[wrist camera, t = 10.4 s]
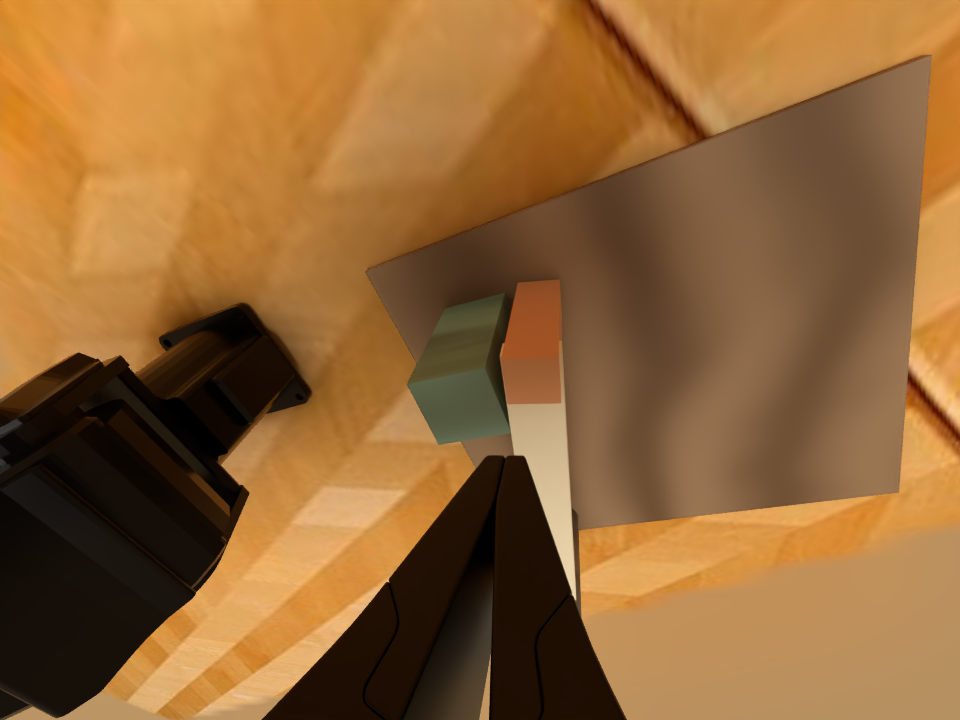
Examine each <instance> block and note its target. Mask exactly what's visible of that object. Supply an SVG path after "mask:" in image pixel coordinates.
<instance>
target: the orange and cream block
mask: <svg viewBox="0 0 960 720" xmlns="http://www.w3.org/2000/svg"><path fill="white" fill-rule="evenodd" d="M500 361H501V368H502V375H503V382H504V389H505V395H506V402H507V409H508V416H509V423H510V429H511V436H512V443H513V450H514V455H523V456H525V458H526V460H527V463H528V466H529V469H530V472H531V474H532V477H533V480H534V483H535V486H536V489H537V492H538V495H539V498H540V501H541V503H542V506H543V509H544V512H545V515H546V518H547V521H548V524H549V527H550V530H551V532H552V535H553V538H554V541H555V544H556V547H557V550H558V553H559V556H560V558H561V561H562V564H563V567H564V570H565V573H566V576H567V579H568V582H569V585H570V587H571V590H572V595H573V596H574V598H575V600H576V578H575V561H574V543H573V526H572V508H571V491H570V473H569V456H568V438H567V421H566V403H565V386H564V368H563V351H562V310H561V292H560V279H557V280H544V281H531V282H518V284H517V288H516V293H515V298H514V302H513V307H512V311H511V316H510V321H509V325H508V330H507V334H506V339H505V343H503V344H502V348H501V352H500Z"/></svg>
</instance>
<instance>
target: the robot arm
mask: <svg viewBox="0 0 960 720" xmlns="http://www.w3.org/2000/svg"><path fill="white" fill-rule="evenodd" d="M239 312H240V313H241V314H242V315H243V316H242V315H240V314H239ZM159 342H160V344H161V345H162V347H163V348H164V349H165V350H166V352H165V353H163V354H162V355H161V356H159V357H158V358H156V359H155V360H154V361H152V362H151V363H149V364H148V365H146V366H145V367H144V368H142V369H141V370H139V371H138V372H136V373H135V374H134V373H133V372H132V370H131V369H130V368H129V367H128V366H130V365H129V364H128V363H127V362H126V361H125V360H124V358H123V357H122V356H121V355H119V356H116V357H114V358H111V359H109V360H106V361H104V362H101V361H100V360H99V359H94V358H91V357H89V356H86V355H84V354H81V353H76V354H74V355H71V356H69V357H68V358H66V359H64V360H62V361H61V362H59V363H57V364H55V365H54V366H52V367H50V368H48V369H47V370H45V371H43V372H42V373H40V374H38V375H36V376H35V377H33V378H31V379H30V380H28V381H27V382H25V383H23V384H22V385H20V386H19V387H17V388H16V389H14V390H13V391H12V392H10V393H9V394H7V395H6V396H4V397H3V398H1V399H0V720H5V719H7V718H9V717H11V716H13V715H16V714H18V713H20V712H22V711H24V710H26V709H28V708H30V707H35V708H37V709H39V710H41V711H43V712H45V713H46V714H49V715H50V716H52V717H54V718H59V717H62V716H64V715H66V714H68V713H70V712H71V711H73V710H74V709H76V708H77V707H79V706H80V705H82V704H83V703H85V702H87V701H88V700H90V699H91V698H93V697H94V696H96V695H97V694H98V693H100V692H101V691H102V690H103V689H104V688H105V686H106V685H107V684H108V683H109V682H110V681H111V679H112V678H113V677H114V676H115V675H116V673H117V672H118V671H119V670H120V669H121V667H122V666H123V665H124V664H125V663H126V662H127V660H128V659H129V658H130V657H131V656H132V654H133V653H134V652H135V651H136V650H137V649H138V648H139V647H140V646H141V644H142V643H143V642H144V641H145V640H146V639H147V638H148V637H149V636H150V635H151V634H152V633H153V632H154V631H155V630H156V629H157V628H158V627H159V626H160V625H161V624H162V623H163V622H164V621H165V620H166V619H168V618H169V617H170V616H171V615H172V614H174V613H175V612H176V611H177V610H179V609H180V608H181V607H182V606H184V605H185V604H186V603H187V602H189V601H190V600H191V599H192V598H193V597H194V596H195V594H196V592H197V591H198V590H199V589H200V588H201V587H202V586H203V584H204V583H205V582H206V581H207V580H208V579H209V577H210V576H211V575H212V573H213V572H214V570H215V569H216V567H217V565H218V564H219V562H220V560H221V558H222V555H223V553H224V551H225V549H226V546H227V544H228V542H229V539H230V537H231V535H232V532H233V530H234V528H235V526H236V523H237V521H238V519H239V516H240V514H241V512H242V509H243V507H244V505H245V503H246V500H247V498H248V496H249V492H248V491H247V489H246V488H245V487H244V486H243V485H239V484H238V483H237V482H236V481H235V480H234V479H233V478H232V476H231V475H230V474H229V473H228V472H227V471H226V470H225V469H224V468H223V467H222V466H221V464H222V463H223V462H224V461H225V460H226V459H227V457H228V456H229V455H230V454H231V453H232V452H233V450H234V449H235V448H236V447H237V446H238V445H239V444H240V442H241V441H242V440H243V439H244V438H245V437H246V436H247V434H248V433H249V432H250V431H251V430H252V429H253V428H254V426H255V425H256V424H257V423H258V422H259V421H260V420H261V418H262V417H263V416H264V415H265V414H268V413H271V412H275V411H279V410H282V409H286V408H290V407H293V406H297V405H300V404H304V403H306V402H307V401H308V400H309V398H310V397H311V393H310V391H309V390H308V388H307V387H306V385H305V384H304V383H303V381H302V380H301V379H300V377H299V376H298V375H297V373H296V372H295V370H294V369H293V368H292V366H291V365H290V364H289V362H288V361H287V359H286V358H285V357H284V355H283V354H282V353H281V351H280V350H279V348H278V347H277V346H276V344H275V343H274V342H273V340H272V339H271V338H270V336H269V335H268V333H267V332H266V331H265V329H264V328H263V327H262V325H261V324H260V322H259V321H258V320H257V318H256V317H255V316H254V314H253V313H252V311H251V310H250V309H249V308H248V307H247V306H245V305H243V304H236V305H234V306H231V307H229V308H226V309H224V310H221V311H219V312H216V313H214V314H211V315H209V316H206V317H204V318H201V319H199V320H196V321H194V322H191V323H189V324H186V325H184V326H181V327H179V328H176V329H174V330H171V331H169V332H166V333H165V334H163V335H162V336H160V337H159ZM300 394H301V395H300ZM490 654H491V672H490V706H489V720H627V719H626V717H625V715H624V713H623V711H622V709H621V707H620V705H619V703H618V701H617V699H616V697H615V695H614V693H613V691H612V689H611V687H610V684H609V683H608V680H607V678H606V676H605V674H604V671H603V669H602V667H601V665H600V663H599V661H598V658H597V656H596V654H595V652H594V650H593V647H592V645H591V642H590V640H589V637H588V634H587V632H586V629H585V626H584V624H583V621H582V619H581V616H580V613H579V610H578V607H577V604H576V601H575V598H574V596H573V595H572V590H571V587H570V585H569V582H568V579H567V576H566V573H565V570H564V567H563V564H562V561H561V558H560V556H559V553H558V550H557V547H556V544H555V541H554V538H553V535H552V532H551V530H550V527H549V524H548V521H547V518H546V515H545V512H544V509H543V506H542V503H541V501H540V498H539V495H538V492H537V489H536V486H535V483H534V480H533V477H532V474H531V472H530V469H529V466H528V463H527V460H526V458H525V456H523V455H508V456H507V457H505V456H503V455H488V456H486V457H485V458H484V459H483V460H482V462H481V463H480V464H479V465H478V467H477V468H476V469H475V471H474V472H473V473H472V474H471V476H470V477H469V478H468V479H467V481H466V482H465V483H464V484H463V486H462V487H461V488H460V490H459V491H458V492H457V493H456V495H455V496H454V497H453V498H452V500H451V501H450V502H449V503H448V505H447V506H446V507H445V509H444V510H443V511H442V512H441V514H440V515H439V516H438V517H437V519H436V520H435V521H434V522H433V524H432V525H431V526H430V528H429V529H428V530H427V531H426V533H425V534H424V535H423V536H422V538H421V539H420V540H419V542H418V543H417V544H416V545H415V547H414V548H413V549H412V550H411V552H410V553H409V554H408V555H407V557H406V558H405V559H404V561H403V562H402V563H401V564H400V566H399V567H398V568H397V569H396V571H395V572H394V573H393V574H392V576H391V577H390V578H389V582H386V583H385V584H384V586H383V587H382V588H381V589H380V591H379V592H378V593H377V594H376V596H375V597H374V598H373V599H372V601H371V602H370V603H369V604H368V606H367V607H366V608H365V609H364V610H363V612H362V613H361V614H360V615H359V616H358V618H357V619H356V620H355V621H354V622H353V623H352V625H351V626H350V627H349V628H348V629H347V630H346V631H345V632H344V633H343V634H342V636H341V637H340V638H339V639H338V640H337V641H336V642H335V643H334V644H333V645H332V646H331V648H330V649H329V650H328V651H327V652H326V653H325V654H324V655H323V656H322V657H321V658H320V659H319V660H318V661H317V662H316V663H315V664H314V666H313V667H312V668H311V669H310V670H309V671H308V672H307V673H306V674H305V675H304V676H303V677H302V678H301V679H300V680H299V681H298V682H297V683H296V684H295V685H294V687H293V688H292V689H291V690H290V691H289V692H288V693H287V694H286V695H285V696H284V697H283V698H282V699H281V700H280V701H279V702H278V703H277V704H276V705H275V707H274V708H273V709H272V710H271V711H270V712H269V713H268V714H267V715H266V716H265V717H264V718H263V719H262V720H479V717H480V710H481V706H482V700H483V693H484V688H485V683H486V677H487V671H488V666H489V660H490Z"/></svg>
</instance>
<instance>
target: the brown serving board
mask: <svg viewBox="0 0 960 720" xmlns="http://www.w3.org/2000/svg"><path fill="white" fill-rule="evenodd" d="M931 58H932V55H923V56H920V57H917V58H915V59H912V60H910V61H907V62H904V63H902V64H899V65H897V66H894V67H891V68H889V69H886V70H884V71H881V72H878V73H876V74H873V75H871V76H868V77H865V78H863V79H860V80H858V81H855V82H852V83H850V84H847V85H845V86H842V87H839V88H837V89H834V90H832V91H829V92H826V93H824V94H821V95H819V96H816V97H813V98H811V99H808V100H806V101H803V102H800V103H798V104H795V105H792V106H790V107H787V108H785V109H782V110H779V111H777V112H774V113H772V114H769V115H766V116H764V117H761V118H759V119H756V120H753V121H751V122H748V123H746V124H743V125H740V126H738V127H735V128H733V129H730V130H727V131H725V132H722V133H720V134H717V135H714V136H712V137H709V138H707V139H704V140H701V141H699V142H696V143H694V144H691V145H688V146H686V147H683V148H681V149H678V150H675V151H673V152H670V153H668V154H665V155H662V156H660V157H657V158H655V159H652V160H649V161H647V162H644V163H642V164H639V165H636V166H634V167H631V168H629V169H626V170H623V171H621V172H618V173H616V174H613V175H610V176H608V177H605V178H603V179H600V180H597V181H595V182H592V183H590V184H587V185H584V186H582V187H579V188H577V189H574V190H571V191H569V192H566V193H564V194H561V195H558V196H556V197H553V198H551V199H548V200H545V201H543V202H540V203H537V204H535V205H532V206H530V207H527V208H524V209H522V210H519V211H517V212H514V213H511V214H509V215H506V216H504V217H501V218H498V219H496V220H493V221H491V222H488V223H485V224H483V225H480V226H478V227H475V228H472V229H470V230H467V231H465V232H462V233H459V234H457V235H454V236H452V237H449V238H446V239H444V240H441V241H439V242H436V243H433V244H431V245H428V246H426V247H423V248H420V249H418V250H415V251H413V252H410V253H407V254H405V255H402V256H400V257H397V258H394V259H392V260H389V261H387V262H384V263H381V264H379V265H376V266H374V267H371V268H368V269H367V270H366V271H365V273H366V274H367V276H368V278H369V280H370V281H371V283H372V285H373V287H374V289H375V290H376V292H377V294H378V296H379V297H380V299H381V301H382V303H383V305H384V306H385V308H386V310H387V312H388V313H389V315H390V317H391V319H392V320H393V322H394V324H395V326H396V328H397V329H398V331H399V333H400V335H401V336H402V338H403V340H404V342H405V343H406V345H407V347H408V349H409V351H410V352H411V354H412V356H413V358H414V359H415V361H416V363H417V365H416V367H415V369H414V371H413V373H412V375H411V377H410V379H409V381H408V383H407V385H408V387H409V389H410V391H411V393H412V395H413V397H414V399H415V401H416V402H417V404H418V406H419V408H420V410H421V412H422V414H423V416H424V418H425V420H426V421H427V423H428V425H429V427H430V429H431V431H432V433H433V435H434V437H435V438H436V440H437V442H438V444H439V445H440V444H446V443H453V442H459V441H461V443H462V445H463V446H464V448H465V450H466V452H467V453H468V455H469V457H470V459H471V460H472V462H473V464H474V466H475V468H477V467H478V465H479V464H480V463H481V462H482V460H483V459H484V458H485V457H486V456H488V455H503V456H505V457H507V456H508V455H514V450H513V443H512V436H511V429H510V423H509V416H508V409H507V402H506V395H505V389H504V382H503V375H502V368H501V361H500V352H501V348H502V344H503V343H505V339H506V334H507V330H508V325H509V321H510V316H511V311H512V307H513V302H514V298H515V293H516V288H517V284H518V282H531V281H544V280H557V279H560V292H561V310H562V351H563V368H564V386H565V403H566V421H567V438H568V456H569V473H570V491H571V508H572V526H573V543H574V561H575V578H576V600H575V601H576V604H577V607H578V610H579V613H580V616H581V592H580V561H579V530H583V529H592V528H600V527H609V526H617V525H626V524H634V523H643V522H651V521H660V520H668V519H677V518H685V517H694V516H702V515H711V514H720V513H728V512H737V511H745V510H754V509H762V508H771V507H779V506H788V505H796V504H805V503H813V502H822V501H830V500H839V499H847V498H856V497H865V496H873V495H882V494H890V493H899V484H900V470H901V457H902V444H903V430H904V417H905V404H906V390H907V377H908V364H909V351H910V337H911V324H912V311H913V297H914V284H915V271H916V257H917V244H918V231H919V217H920V204H921V191H922V177H923V164H924V151H925V138H926V124H927V111H928V98H929V84H930V71H931Z"/></svg>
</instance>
